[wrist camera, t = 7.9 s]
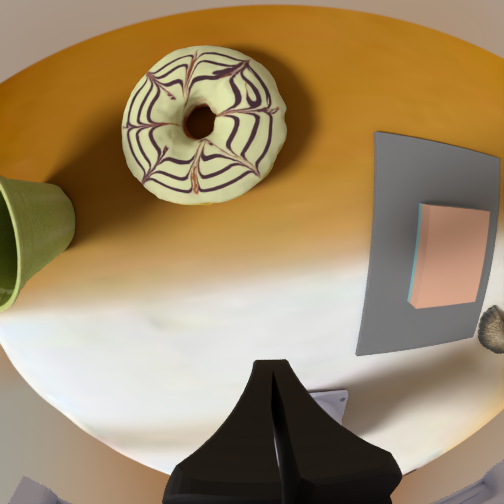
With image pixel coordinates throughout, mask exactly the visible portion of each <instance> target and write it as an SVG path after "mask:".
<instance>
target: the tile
mask: <svg viewBox="0 0 504 504" xmlns="http://www.w3.org/2000/svg"><path fill="white" fill-rule="evenodd" d="M489 218H490V211H485V210H481V209H475V208H466V207H457V206H447V205H436V204H425V203H419V217H418V229H417V239H416V248H415V256H414V263H413V270H412V277H411V283H410V289H409V294H408V300H407V301H408V302H409V303H410V304H411V305H413V306H414V307H415V308H416V309H419V308H428V307H437V306H446V305H454V304H461V303H469V302H475V300H476V296H477V292H478V288H479V283H480V278H481V273H482V268H483V263H484V257H485V250H486V244H487V236H488V228H489Z"/></svg>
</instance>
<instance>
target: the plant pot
mask: <svg viewBox="0 0 504 504" xmlns="http://www.w3.org/2000/svg"><path fill="white" fill-rule="evenodd" d="M74 232H75V213H74V209H73V205H72V202H71V200H70V199H69V198H68V197H67V196H66V194H65V193H64V192H63V191H62V189H61V188H60V187H59V186H57V185H54V184H48V183H38V182H30V181H22V180H13V179H6V178H5V177H3V176H0V312H3V311H5V310H7V309H8V308H9V307H11V306H12V305H13V304H14V302H15V301H16V299H17V297H18V295H19V293H20V290H21V289H22V288H23V287H24V285H25V283H26V281H28V280H29V279H30V278H31V277H32V276H33V275H35V274H36V273H37V272H38V271H39V270H41V269H42V268H43V267H44V266H46V265H47V264H48V263H49V262H51V261H52V260H53V259H54V258H56V257H57V256H58V255H60V254H61V253H62V252H64V251H65V250H66V248H67V247H68V245H69V244H70V242H71V240H72V239H73V236H74Z"/></svg>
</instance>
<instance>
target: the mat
mask: <svg viewBox="0 0 504 504" xmlns="http://www.w3.org/2000/svg"><path fill="white" fill-rule="evenodd" d="M374 145H375V175H374V207H373V224H372V238H371V250H370V260H369V270H368V278H367V286H366V294H365V301H364V308H363V314H362V321H361V327H360V332H359V338H358V343H357V349H356V356H363V355H372V354H381V353H388V352H395V351H402V350H409V349H415V348H421V347H427V346H433V345H438V344H443V343H448V342H453V341H458V340H462V339H467V338H471V337H473V336H474V333H475V329H476V326H477V323H478V319H479V316H480V312H481V309H482V305H483V301H484V297H485V293H486V289H487V284H488V280H489V275H490V270H491V265H492V259H493V253H494V246H495V239H496V232H497V223H498V212H499V197H500V158H497V157H493V156H490V155H487V154H483V153H480V152H476V151H472V150H468V149H464V148H460V147H456V146H452V145H448V144H443V143H439V142H434V141H429V140H424V139H419V138H413V137H408V136H402V135H395V134H389V133H382V132H374ZM419 203H425V204H436V205H447V206H457V207H466V208H475V209H481V210H485V211H490V218H489V228H488V236H487V244H486V250H485V257H484V263H483V268H482V273H481V278H480V283H479V288H478V292H477V296H476V300H475V302H469V303H461V304H454V305H446V306H437V307H428V308H419V309H416V308H415V307H414V306H413V305H411V304H410V303H409V302H408V301H407V300H408V294H409V289H410V283H411V277H412V270H413V263H414V256H415V248H416V239H417V229H418V217H419Z"/></svg>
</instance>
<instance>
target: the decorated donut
mask: <svg viewBox="0 0 504 504" xmlns="http://www.w3.org/2000/svg"><path fill="white" fill-rule="evenodd" d="M202 106H209V107H210V109H211V111H212V112H213V113H215V114H216V118H215V122H214V130H213V132H212V133H211V134H210V135H209V136H207V137H205V138H202V139H196V138H193V137H192V135H190V134H189V132H188V130H187V127H186V121H187V120H188V118H189V115H190V114H191V113H192V112H193V111H194V110H195V109H198V108H200V107H202ZM286 109H287V108H286V105H285V103H284V101H283V99H282V97H281V96H280V94H279V91H278V88H277V85H276V82H275V79H274V78H273V77H272V75H271V74H270V72H269V71H268V70H267V69H266V68H265V67H264V66H263V65H262V64H260V63H258V62H257V61H255V60H254V59H252V58H251V57H249V56H246V55H244V54H243V53H241V52H239V51H236V50H232V49H228V48H224V47H217V46H210V45H207V46H193V47H188V48H183V49H178V50H176V51H174V52H172V53H170V54H168V55H167V56H165V57H164V58H162V59H161V60H160V61H159V62H158V63H156V64H155V65H154V66H153V67H152V68H151V69H150V70H149V71H148V72H147V73H146V74H145V76H144V77H143V78H142V79H141V80H140V81H139V82H138V83H137V85H136V86H135V88H134V90H133V91H132V93H131V96H130V98H129V100H128V102H127V105H126V108H125V111H124V115H123V121H122V146H123V152H124V155H125V158H126V163H127V165H128V167H129V169H130V171H131V172H132V174H133V176H135V177H136V178H137V179H138V180H139V181H140V182H141V183H142V184H143V186H144V187H145V188H146V189H147V190H149V191H150V192H151V193H153V194H155V195H156V196H157V197H158V198H159V199H163V200H165V201H169V202H173V203H176V204H183V205H211V204H214V203H218V202H225V201H229V200H232V199H235V198H238V197H240V196H242V195H243V194H245V193H246V192H247V191H248V190H250V189H251V188H252V187H254V186H255V185H256V184H257V183H259V182H260V181H261V180H262V179H264V178H265V177H266V176H267V175H268V174H269V172H270V171H271V169H272V168H273V164H274V161H275V159H276V157H277V155H278V153H279V151H280V150H281V148H282V146H283V143H284V142H285V140H286V134H287V128H286V124H285V122H284V120H285V112H286Z"/></svg>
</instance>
